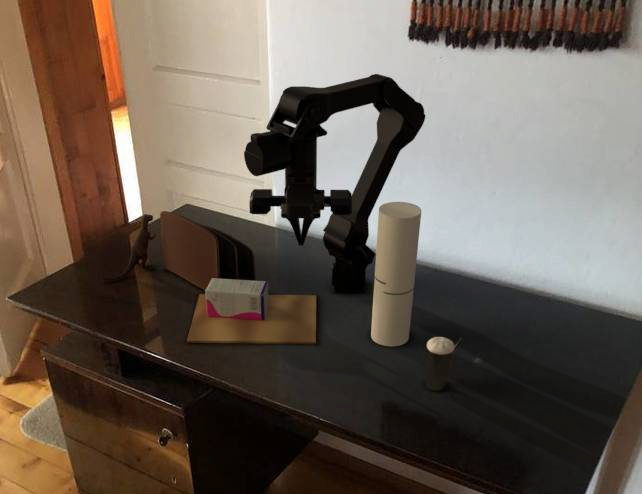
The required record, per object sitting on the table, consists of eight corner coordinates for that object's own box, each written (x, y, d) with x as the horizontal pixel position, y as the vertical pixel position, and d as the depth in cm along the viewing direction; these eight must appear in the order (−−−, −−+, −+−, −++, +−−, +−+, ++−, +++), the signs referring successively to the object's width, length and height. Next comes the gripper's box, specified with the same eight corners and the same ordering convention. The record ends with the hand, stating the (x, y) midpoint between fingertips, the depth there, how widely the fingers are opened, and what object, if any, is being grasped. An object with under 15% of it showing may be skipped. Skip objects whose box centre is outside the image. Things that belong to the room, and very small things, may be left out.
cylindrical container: (387, 322, 143) (397, 198, 128) (416, 336, 139) (430, 209, 124) (363, 336, 139) (370, 209, 124) (392, 350, 135) (403, 221, 120)
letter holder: (219, 299, 149) (214, 233, 141) (163, 269, 161) (156, 206, 152) (257, 284, 154) (254, 220, 146) (200, 256, 166) (195, 195, 158)
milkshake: (453, 395, 124) (460, 345, 118) (421, 391, 124) (427, 341, 118) (454, 380, 127) (461, 330, 121) (423, 376, 128) (428, 327, 122)
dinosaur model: (155, 212, 156) (99, 239, 147) (166, 262, 163) (112, 290, 154) (143, 208, 158) (87, 234, 149) (154, 258, 165) (101, 285, 156)
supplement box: (268, 280, 143) (211, 276, 144) (263, 294, 139) (204, 291, 140) (269, 306, 147) (213, 302, 148) (264, 321, 142) (206, 317, 143)
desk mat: (316, 297, 151) (316, 295, 151) (315, 344, 136) (315, 341, 136) (199, 296, 151) (199, 294, 151) (187, 342, 137) (186, 340, 136)
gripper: (245, 179, 125) (249, 263, 134) (354, 180, 125) (351, 264, 134) (250, 157, 134) (253, 237, 143) (352, 158, 134) (349, 238, 143)
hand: (301, 244), depth 141 cm, fingers closed
